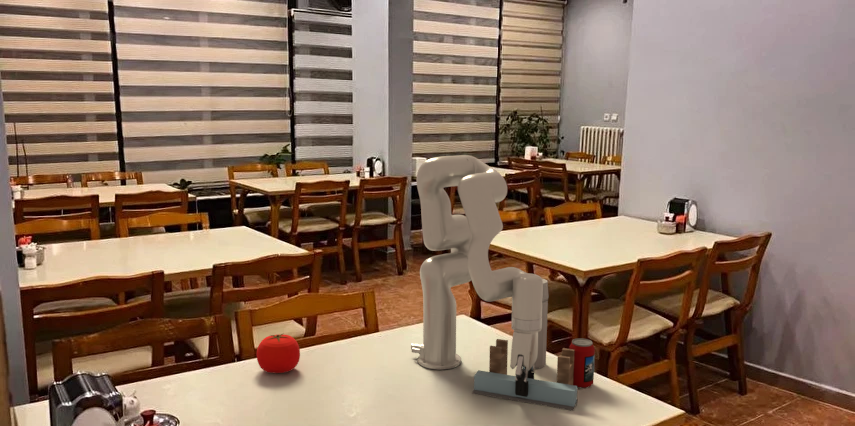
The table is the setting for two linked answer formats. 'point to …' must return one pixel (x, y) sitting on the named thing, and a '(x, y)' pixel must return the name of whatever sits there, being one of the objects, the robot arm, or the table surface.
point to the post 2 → (565, 367)
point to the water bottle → (543, 330)
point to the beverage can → (583, 362)
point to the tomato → (278, 353)
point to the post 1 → (499, 357)
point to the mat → (525, 400)
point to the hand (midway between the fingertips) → (524, 390)
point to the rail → (536, 388)
